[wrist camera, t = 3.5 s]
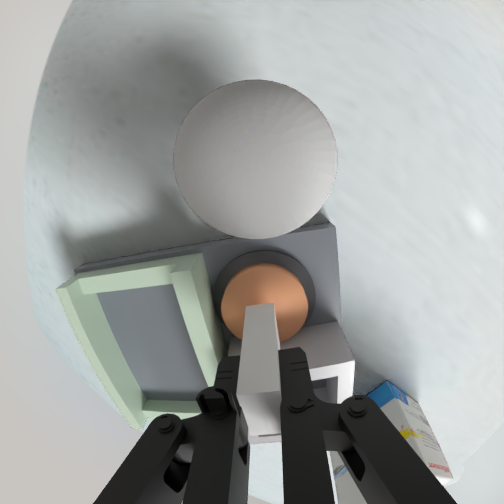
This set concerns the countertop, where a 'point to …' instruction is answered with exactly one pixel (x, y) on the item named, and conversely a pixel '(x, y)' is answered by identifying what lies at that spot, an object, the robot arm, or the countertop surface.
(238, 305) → the checker pad
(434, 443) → the ink box
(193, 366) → the compartment tray
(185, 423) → the robot arm
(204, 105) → the light bulb
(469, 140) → the countertop surface
